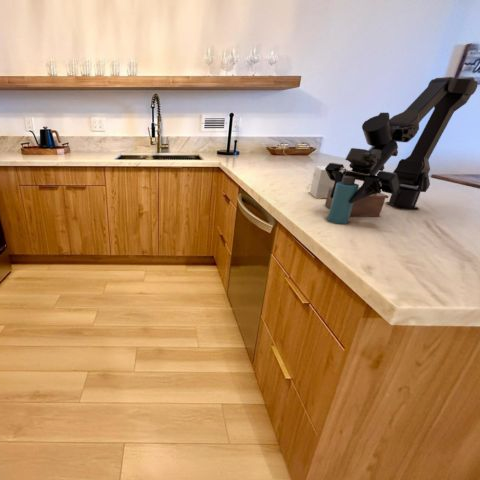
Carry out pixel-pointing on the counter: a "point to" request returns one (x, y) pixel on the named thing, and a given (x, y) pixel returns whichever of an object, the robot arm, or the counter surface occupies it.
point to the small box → (320, 182)
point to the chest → (362, 206)
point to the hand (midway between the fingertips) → (340, 199)
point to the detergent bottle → (342, 200)
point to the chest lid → (376, 195)
